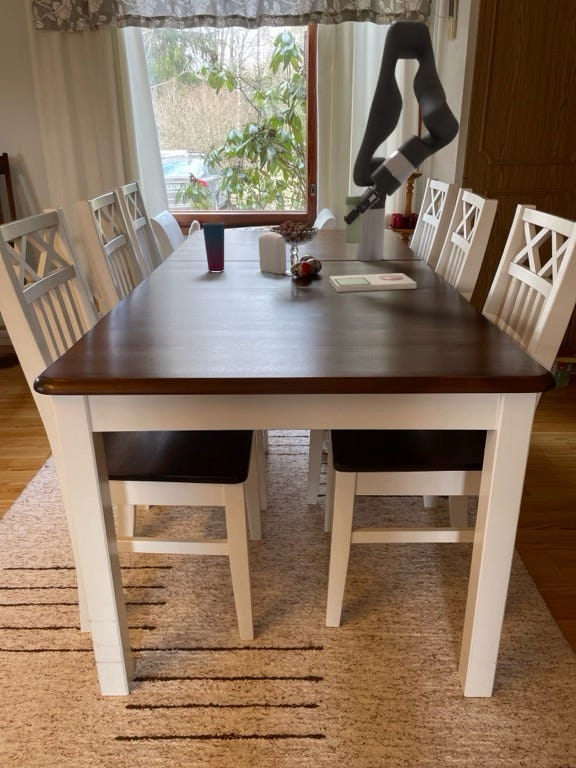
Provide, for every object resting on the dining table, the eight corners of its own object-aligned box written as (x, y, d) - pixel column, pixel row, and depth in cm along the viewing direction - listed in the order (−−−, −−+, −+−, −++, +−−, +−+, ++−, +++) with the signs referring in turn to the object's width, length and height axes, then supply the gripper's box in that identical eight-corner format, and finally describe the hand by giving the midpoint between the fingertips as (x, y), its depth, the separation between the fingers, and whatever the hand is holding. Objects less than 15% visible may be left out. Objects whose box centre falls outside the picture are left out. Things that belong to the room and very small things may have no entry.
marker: (343, 241, 167) (344, 196, 163) (359, 240, 167) (360, 195, 163) (346, 243, 163) (347, 197, 159) (362, 243, 163) (363, 196, 159)
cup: (202, 272, 194) (198, 224, 189) (212, 268, 200) (209, 222, 195) (220, 273, 192) (217, 225, 186) (230, 269, 198) (228, 222, 192)
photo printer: (258, 270, 195) (256, 231, 191) (268, 268, 198) (267, 230, 193) (277, 275, 188) (276, 234, 183) (288, 273, 190) (287, 233, 186)
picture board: (329, 281, 178) (329, 275, 177) (402, 278, 180) (402, 272, 179) (337, 291, 165) (337, 285, 164) (416, 288, 167) (416, 282, 166)
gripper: (381, 162, 164) (336, 209, 169) (385, 163, 151) (336, 214, 156) (400, 182, 165) (354, 228, 171) (405, 185, 152) (356, 235, 158)
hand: (346, 221), depth 163 cm, fingers closed on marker, 4 cm apart
